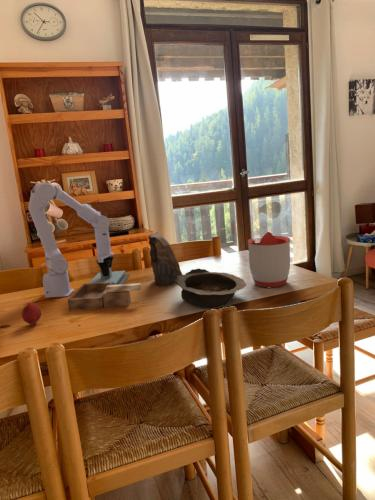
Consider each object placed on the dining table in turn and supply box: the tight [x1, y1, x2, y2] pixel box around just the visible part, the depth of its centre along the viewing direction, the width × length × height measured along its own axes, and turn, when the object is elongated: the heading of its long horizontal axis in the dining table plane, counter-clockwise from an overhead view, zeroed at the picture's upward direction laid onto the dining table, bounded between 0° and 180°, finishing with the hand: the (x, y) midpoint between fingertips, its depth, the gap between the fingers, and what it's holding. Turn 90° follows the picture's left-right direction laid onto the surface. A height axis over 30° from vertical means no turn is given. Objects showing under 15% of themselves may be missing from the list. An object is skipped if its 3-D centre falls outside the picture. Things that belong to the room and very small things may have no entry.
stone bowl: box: [174, 268, 247, 309], centre depth 136 cm, size 25×25×9 cm
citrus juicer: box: [247, 231, 291, 288], centre depth 148 cm, size 16×17×20 cm
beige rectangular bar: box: [106, 282, 142, 292], centre depth 138 cm, size 12×2×2 cm, turn 87°
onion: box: [21, 300, 42, 325], centre depth 127 cm, size 6×6×8 cm
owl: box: [147, 231, 184, 288], centre depth 160 cm, size 13×13×20 cm
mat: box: [117, 273, 131, 285], centre depth 168 cm, size 15×20×1 cm
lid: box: [88, 267, 126, 285], centre depth 167 cm, size 12×18×5 cm, turn 177°
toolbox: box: [67, 282, 132, 311], centre depth 145 cm, size 21×18×5 cm
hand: (107, 274), depth 167 cm, fingers closed on lid, 3 cm apart
